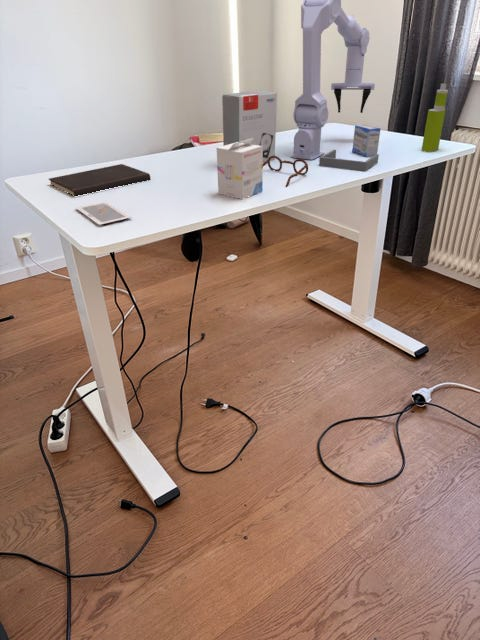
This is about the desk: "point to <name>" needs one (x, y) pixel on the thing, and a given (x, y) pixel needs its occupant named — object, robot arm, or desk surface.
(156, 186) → the desk surface
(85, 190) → the hardcover book
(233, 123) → the hard drive box
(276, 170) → the glasses
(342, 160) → the box
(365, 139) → the medicine box
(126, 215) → the touchpad
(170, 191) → the desk surface
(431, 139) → the vape
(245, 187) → the ink box
